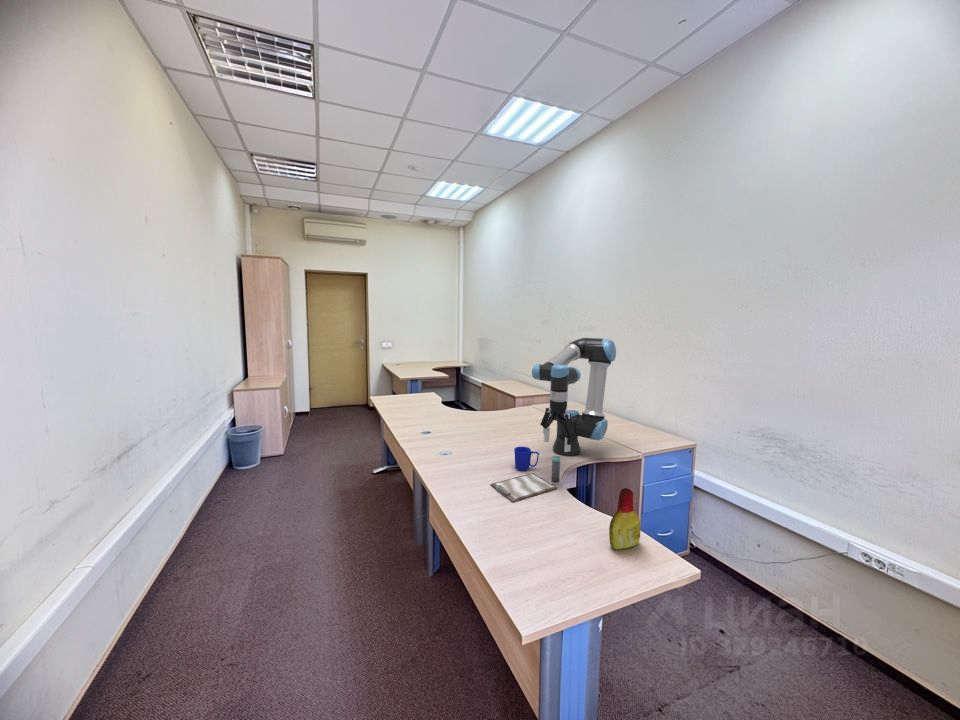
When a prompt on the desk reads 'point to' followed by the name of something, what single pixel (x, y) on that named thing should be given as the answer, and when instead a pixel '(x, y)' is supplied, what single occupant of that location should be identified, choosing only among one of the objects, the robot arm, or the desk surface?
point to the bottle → (624, 523)
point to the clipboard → (523, 487)
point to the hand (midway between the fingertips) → (556, 446)
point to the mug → (523, 458)
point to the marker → (555, 470)
